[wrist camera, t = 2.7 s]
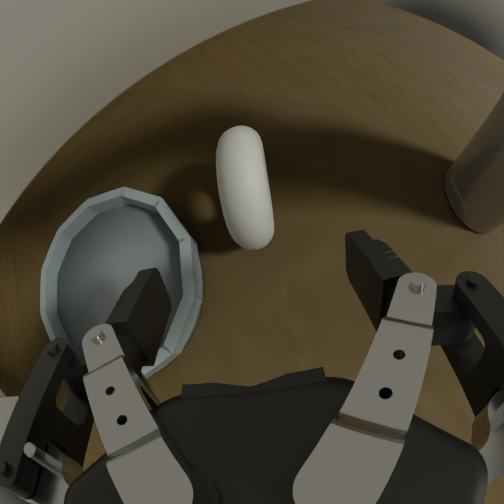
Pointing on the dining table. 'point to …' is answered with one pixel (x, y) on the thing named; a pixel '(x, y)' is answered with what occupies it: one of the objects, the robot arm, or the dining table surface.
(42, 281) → the bowl
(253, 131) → the donut
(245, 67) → the dining table surface
